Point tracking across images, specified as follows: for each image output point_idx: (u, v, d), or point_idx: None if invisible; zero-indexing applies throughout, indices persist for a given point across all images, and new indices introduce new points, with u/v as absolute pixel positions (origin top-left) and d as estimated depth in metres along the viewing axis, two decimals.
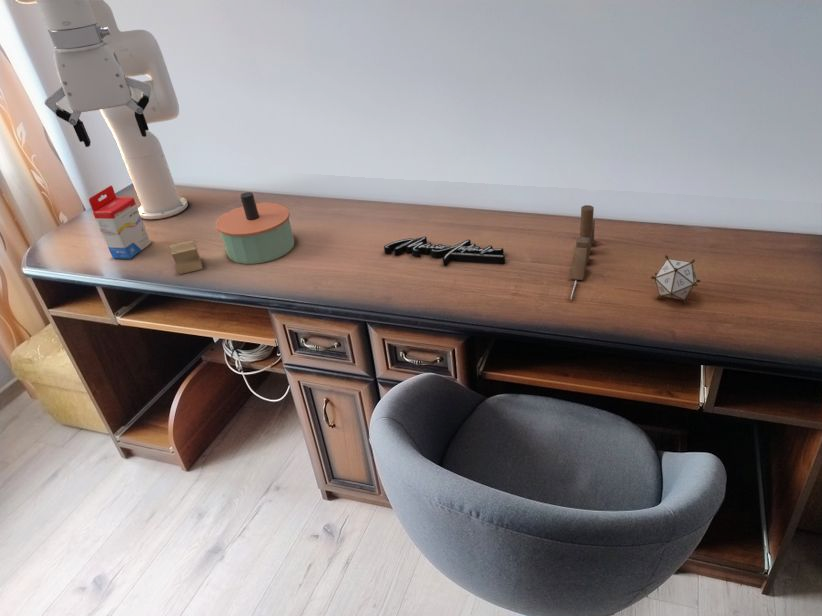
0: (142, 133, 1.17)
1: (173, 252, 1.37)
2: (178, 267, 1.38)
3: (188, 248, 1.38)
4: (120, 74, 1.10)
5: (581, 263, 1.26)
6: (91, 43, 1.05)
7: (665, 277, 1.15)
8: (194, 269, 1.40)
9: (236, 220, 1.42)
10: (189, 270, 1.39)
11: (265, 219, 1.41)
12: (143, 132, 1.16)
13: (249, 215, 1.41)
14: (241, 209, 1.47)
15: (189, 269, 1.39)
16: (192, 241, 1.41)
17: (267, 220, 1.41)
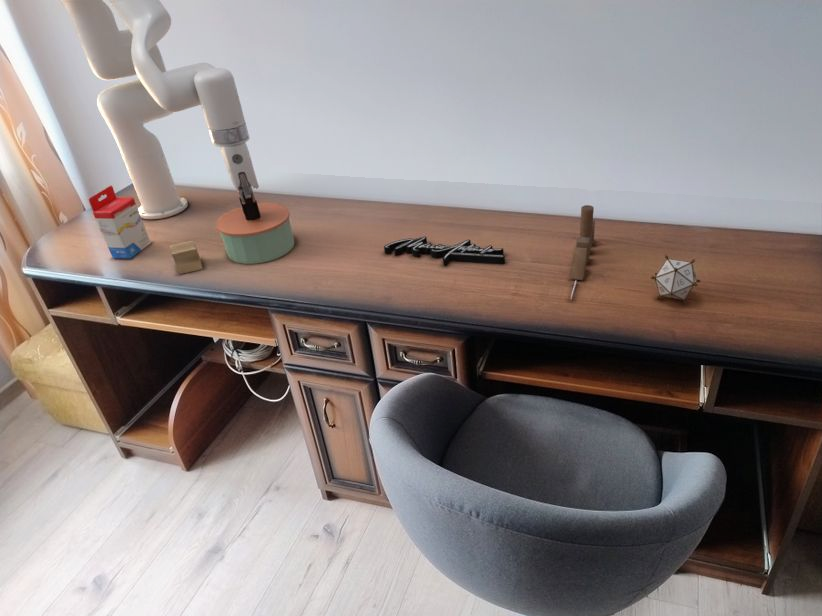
0: None
1: (173, 252, 1.37)
2: (178, 267, 1.38)
3: (188, 248, 1.38)
4: (231, 171, 1.31)
5: (581, 263, 1.26)
6: (216, 142, 1.29)
7: (665, 277, 1.15)
8: (194, 269, 1.40)
9: (236, 220, 1.42)
10: (189, 270, 1.39)
11: (265, 219, 1.41)
12: (245, 217, 1.40)
13: None
14: (241, 209, 1.47)
15: (189, 269, 1.39)
16: (192, 241, 1.41)
17: (267, 220, 1.41)
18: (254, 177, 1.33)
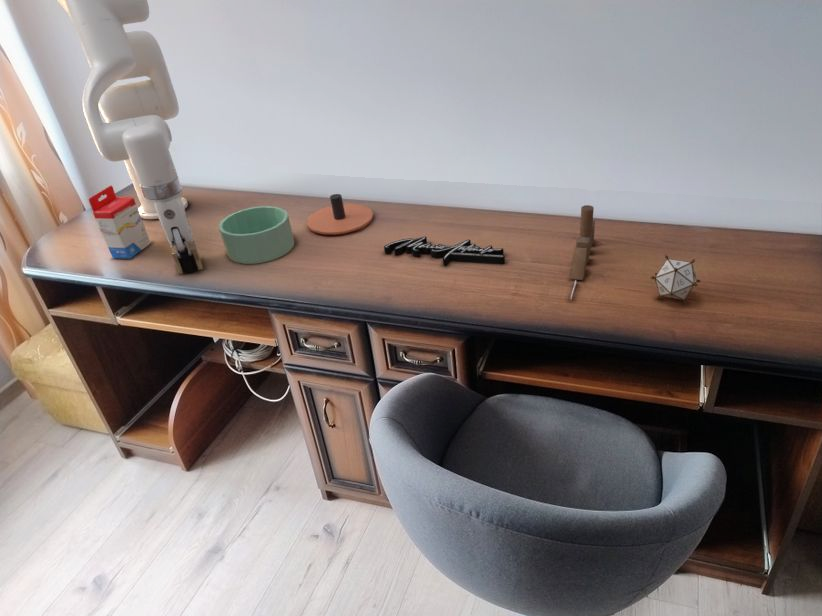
0: None
1: (173, 252, 1.37)
2: (178, 267, 1.38)
3: None
4: (163, 226, 1.30)
5: (581, 263, 1.26)
6: (147, 198, 1.29)
7: (665, 277, 1.15)
8: None
9: (324, 219, 1.55)
10: None
11: (352, 219, 1.54)
12: None
13: (337, 215, 1.53)
14: (327, 210, 1.59)
15: None
16: None
17: (353, 219, 1.54)
18: (188, 231, 1.33)
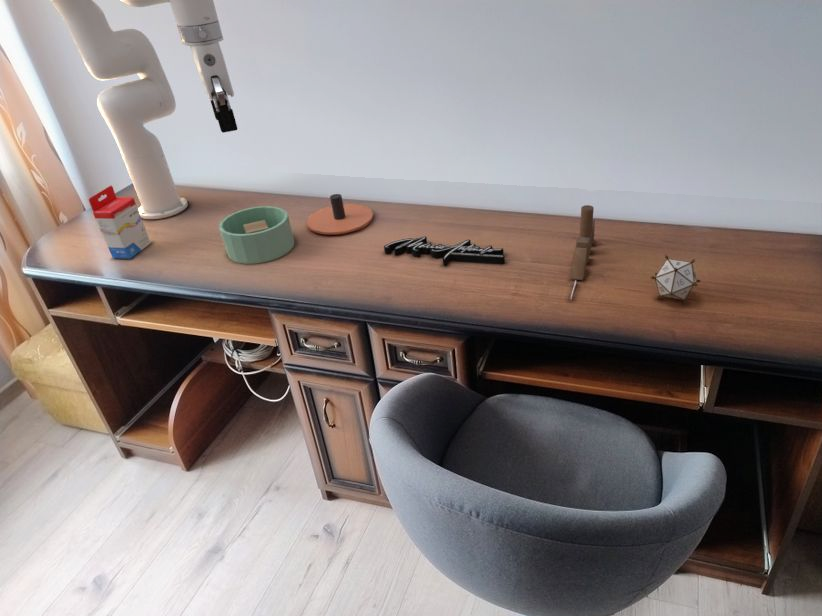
0: None
1: (247, 231, 1.42)
2: None
3: (261, 227, 1.43)
4: (203, 73, 1.20)
5: (581, 263, 1.26)
6: (185, 41, 1.18)
7: (665, 277, 1.15)
8: None
9: (324, 219, 1.55)
10: None
11: (352, 219, 1.54)
12: (220, 128, 1.26)
13: (337, 215, 1.53)
14: (327, 210, 1.59)
15: None
16: (263, 221, 1.46)
17: (353, 219, 1.54)
18: (228, 82, 1.22)
